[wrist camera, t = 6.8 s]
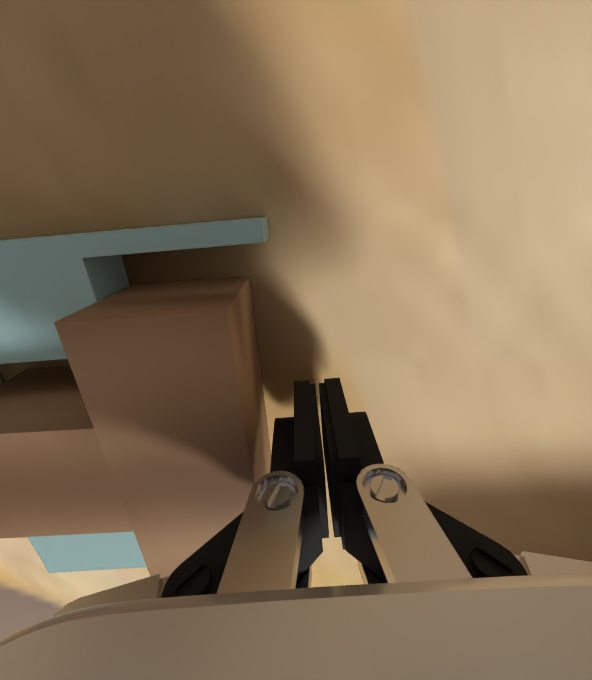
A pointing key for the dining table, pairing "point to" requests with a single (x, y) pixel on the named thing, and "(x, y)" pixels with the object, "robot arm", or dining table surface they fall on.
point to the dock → (71, 296)
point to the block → (140, 421)
